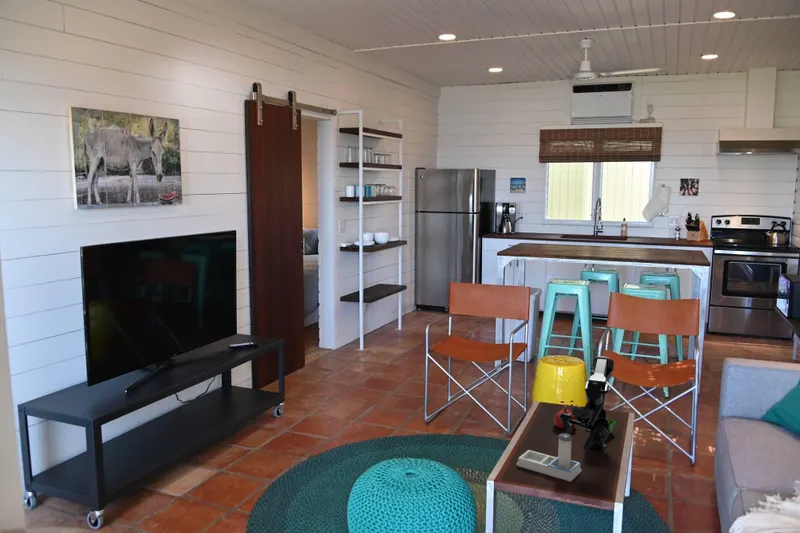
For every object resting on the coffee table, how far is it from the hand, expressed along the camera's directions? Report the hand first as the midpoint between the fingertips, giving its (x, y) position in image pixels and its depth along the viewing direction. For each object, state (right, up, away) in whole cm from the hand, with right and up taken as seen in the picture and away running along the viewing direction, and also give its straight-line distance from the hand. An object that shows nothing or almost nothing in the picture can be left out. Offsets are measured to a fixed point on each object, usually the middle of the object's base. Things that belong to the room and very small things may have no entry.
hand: (573, 445), depth 233 cm
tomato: (+8, -4, +41) cm, 42 cm away
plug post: (-4, -8, -3) cm, 10 cm away
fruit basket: (+20, -5, +34) cm, 40 cm away
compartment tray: (-9, -9, +1) cm, 13 cm away
